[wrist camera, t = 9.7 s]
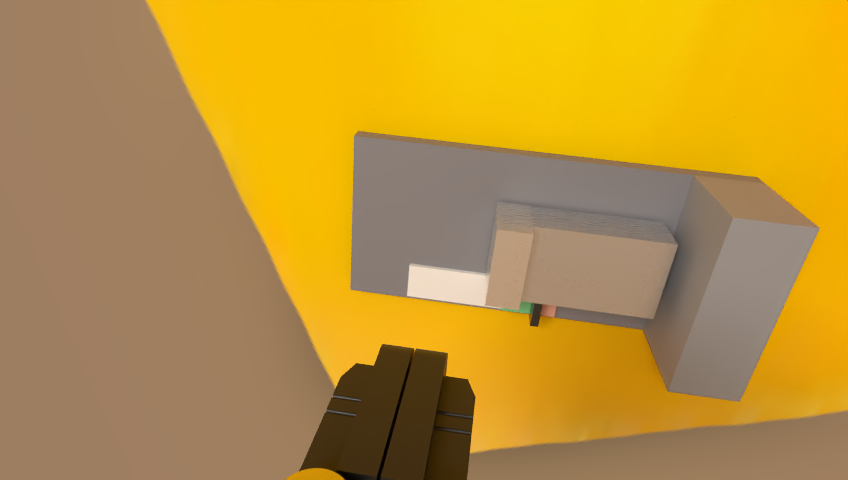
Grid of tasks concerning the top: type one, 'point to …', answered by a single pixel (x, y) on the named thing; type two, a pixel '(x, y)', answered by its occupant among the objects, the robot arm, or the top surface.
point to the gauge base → (591, 193)
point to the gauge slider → (576, 261)
